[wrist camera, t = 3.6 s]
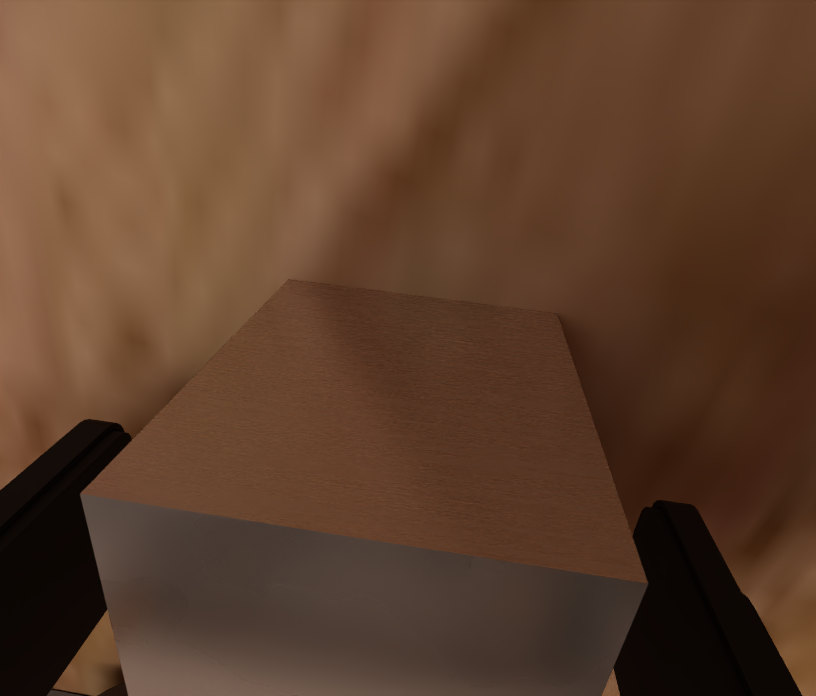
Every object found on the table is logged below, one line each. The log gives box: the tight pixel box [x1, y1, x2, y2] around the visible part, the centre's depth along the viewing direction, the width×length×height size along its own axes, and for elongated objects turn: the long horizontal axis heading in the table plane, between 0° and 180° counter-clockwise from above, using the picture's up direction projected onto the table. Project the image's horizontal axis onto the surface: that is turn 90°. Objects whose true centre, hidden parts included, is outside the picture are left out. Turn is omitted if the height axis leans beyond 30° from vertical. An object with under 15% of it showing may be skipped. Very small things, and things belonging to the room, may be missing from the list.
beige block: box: [80, 279, 648, 696], centre depth 9 cm, size 5×7×6 cm
